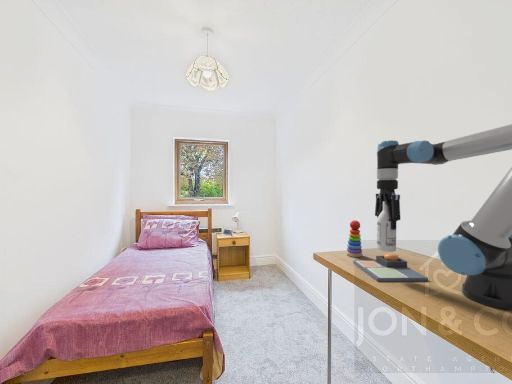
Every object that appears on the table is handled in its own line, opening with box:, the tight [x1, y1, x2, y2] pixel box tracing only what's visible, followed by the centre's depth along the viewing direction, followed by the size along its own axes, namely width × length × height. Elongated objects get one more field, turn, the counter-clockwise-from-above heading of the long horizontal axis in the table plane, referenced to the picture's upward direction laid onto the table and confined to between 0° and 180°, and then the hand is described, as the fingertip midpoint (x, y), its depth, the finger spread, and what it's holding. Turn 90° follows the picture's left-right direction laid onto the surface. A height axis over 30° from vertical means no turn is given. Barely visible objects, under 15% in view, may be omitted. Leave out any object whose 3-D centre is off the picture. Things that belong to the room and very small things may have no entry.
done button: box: [383, 252, 399, 261], centre depth 109 cm, size 6×6×2 cm
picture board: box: [352, 255, 429, 282], centre depth 104 cm, size 22×20×4 cm
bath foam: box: [376, 201, 397, 253], centre depth 98 cm, size 7×7×20 cm
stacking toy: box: [346, 219, 363, 258], centre depth 127 cm, size 8×8×19 cm
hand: (386, 235), depth 98 cm, fingers closed on bath foam, 7 cm apart
